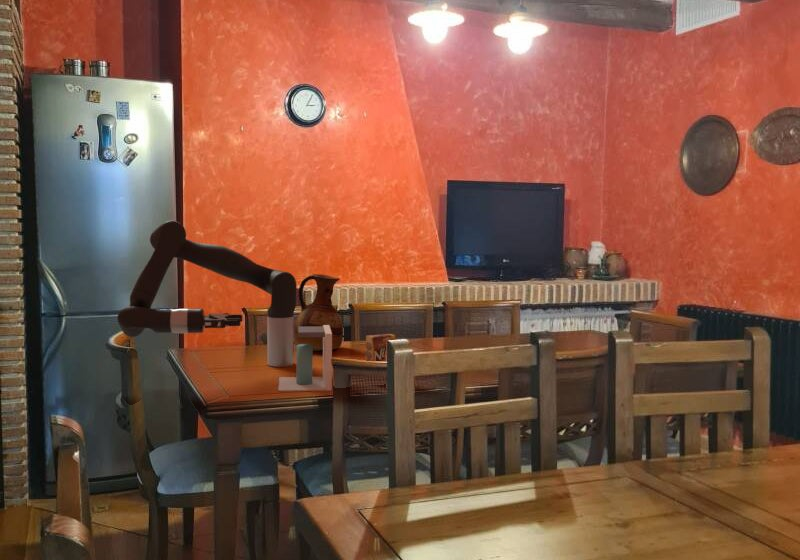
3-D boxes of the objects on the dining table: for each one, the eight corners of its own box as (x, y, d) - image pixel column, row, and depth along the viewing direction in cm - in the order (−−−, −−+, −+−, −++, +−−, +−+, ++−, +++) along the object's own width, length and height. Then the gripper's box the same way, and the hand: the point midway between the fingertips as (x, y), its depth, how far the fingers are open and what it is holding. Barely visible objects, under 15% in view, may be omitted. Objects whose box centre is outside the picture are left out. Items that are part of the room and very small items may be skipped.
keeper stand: (279, 378, 248) (279, 325, 247) (328, 377, 251) (329, 324, 249) (278, 391, 231) (278, 334, 229) (331, 390, 233) (332, 333, 231)
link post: (296, 381, 243) (296, 344, 242) (312, 381, 243) (312, 343, 242) (296, 384, 238) (296, 346, 237) (312, 384, 238) (312, 346, 237)
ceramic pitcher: (340, 354, 292) (341, 276, 289) (288, 353, 292) (288, 275, 289) (345, 345, 311) (345, 272, 309) (295, 344, 311) (296, 271, 309)
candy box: (371, 384, 242) (371, 337, 240) (364, 382, 245) (364, 335, 244) (394, 381, 247) (395, 334, 245) (387, 379, 250) (388, 333, 249)
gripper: (183, 311, 226) (239, 311, 229) (190, 305, 240) (242, 305, 243) (184, 336, 227) (240, 335, 229) (190, 329, 241) (242, 328, 243)
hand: (241, 320), depth 236 cm, fingers open, 8 cm apart
